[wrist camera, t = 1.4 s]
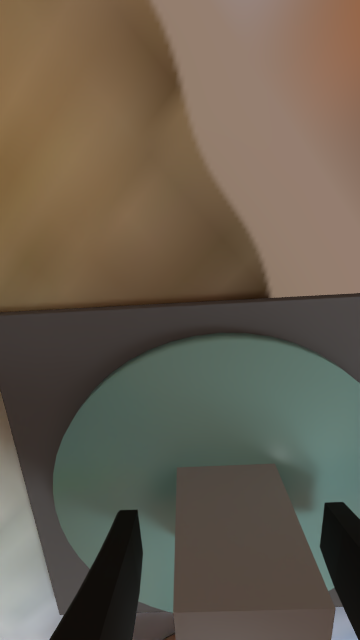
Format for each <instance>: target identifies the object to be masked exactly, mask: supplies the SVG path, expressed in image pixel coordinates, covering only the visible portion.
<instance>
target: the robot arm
mask: <svg viewBox="0 0 360 640" xmlns="http://www.w3.org/2000/svg"><path fill="white" fill-rule="evenodd" d="M320 549H321V552H322V555H323V558H324V561H325V564H326V566H327V569H328V572H329V574H330V577H331V580H332V582H333V585H334V588H335V590H336V592H337V594H338V596H339V599H340V601H341V603H342V605H343V607H344V610H345V612H346V614H347V616H348V618H349V620H350V623H351V625H352V627H353V629H354V631H355V633H356V635H357V637H358V640H360V519H359V518H358V517H357V516H356V515H355V514H354V512H353V511H352V510H351V509H350V508H349V507H348V506H347V505H346V504H345V503H344V502H326V503H325V504H324V513H323V522H322V531H321V539H320ZM142 560H143V548H142V540H141V532H140V525H139V517H138V509H137V510H120V511H119V512H118V513H117V515H116V517H115V519H114V522H113V524H112V526H111V528H110V530H109V532H108V535H107V537H106V539H105V541H104V543H103V545H102V547H101V549H100V551H99V553H98V555H97V557H96V559H95V561H94V563H93V564H92V566H91V568H90V570H89V572H88V574H87V576H86V578H85V579H84V581H83V583H82V585H81V587H80V589H79V590H78V592H77V594H76V596H75V597H74V599H73V601H72V603H71V604H70V606H69V608H68V609H67V611H66V613H65V615H64V616H63V618H62V620H61V621H60V623H59V625H58V626H57V628H56V630H55V631H54V633H53V635H52V636H51V638H50V640H132V637H133V631H134V625H135V619H136V612H137V606H138V600H139V594H140V584H141V572H142Z"/></svg>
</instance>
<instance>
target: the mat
mask: <svg viewBox="0 0 360 640" xmlns="http://www.w3.org/2000/svg"><path fill="white" fill-rule="evenodd" d="M215 333H249V334H256V335H263V336H271V337H274V338H278V339H282V340H285V341H289V342H293V343H295V344H298V345H300V346H303V347H305V348H307V349H310V350H312V351H315V352H316V353H318V354H320V355H322V356H323V357H325V358H327V359H328V360H330V361H332V362H333V363H335V364H336V365H337V366H339V367H340V368H341V369H343V370H344V371H345V372H346V373H348V374H349V375H350V376H351V377H353V378H354V379H355V380H356V381H357V382H359V383H360V293H357V294H340V295H339V294H338V295H319V296H302V297H301V296H300V297H284V298H283V297H282V298H263V299H244V300H225V301H206V302H188V303H169V304H150V305H131V306H113V307H94V308H75V309H56V310H37V311H19V312H0V390H1V394H2V398H3V401H4V405H5V409H6V413H7V416H8V420H9V424H10V428H11V432H12V435H13V439H14V443H15V447H16V451H17V454H18V458H19V462H20V466H21V470H22V473H23V477H24V481H25V485H26V488H27V492H28V496H29V500H30V504H31V507H32V511H33V515H34V519H35V523H36V526H37V530H38V534H39V538H40V541H41V545H42V549H43V553H44V557H45V560H46V564H47V568H48V572H49V576H50V579H51V583H52V587H53V591H54V595H55V598H56V602H57V606H58V610H59V613H60V615H65V613H66V611H67V609H68V608H69V606H70V604H71V603H72V601H73V599H74V597H75V596H76V594H77V592H78V590H79V589H80V587H81V585H82V583H83V581H84V579H85V578H86V576H87V574H88V572H89V570H90V569H89V567H88V566H87V565H86V564H85V563H84V562H83V561H82V560H81V559H80V558H79V556H78V555H77V553H76V552H75V551H74V549H73V548H72V546H71V545H70V543H69V542H68V540H67V538H66V536H65V534H64V532H63V530H62V528H61V525H60V522H59V519H58V516H57V513H56V510H55V503H54V496H53V472H54V466H55V461H56V455H57V453H58V450H59V447H60V444H61V441H62V439H63V436H64V434H65V433H66V431H67V429H68V427H69V425H70V424H71V422H72V420H73V418H74V417H75V415H76V414H77V412H78V410H79V409H80V407H81V406H82V404H83V403H84V402H85V400H86V399H87V398H88V397H89V395H90V394H91V393H92V391H93V390H94V389H95V388H96V387H97V386H98V385H99V384H100V383H101V382H102V381H103V380H104V379H105V378H106V377H108V376H109V375H110V374H111V373H112V372H114V371H115V370H117V369H118V368H119V367H121V366H122V365H123V364H125V363H126V362H128V361H129V360H131V359H133V358H135V357H137V356H139V355H141V354H142V353H144V352H146V351H148V350H151V349H153V348H156V347H158V346H161V345H164V344H166V343H169V342H172V341H176V340H180V339H184V338H188V337H192V336H197V335H206V334H215ZM328 592H329V594H330V597H331V599H332V601H333V604H334V606H335V607H343V605H342V603H341V601H340V599H339V596H338V594H337V592H336V590H335V588H333V589H331V590H329V591H328ZM144 612H168V611H164V610H161V609H157V608H154V607H151V606H149V605H146V604H144V603H141V602H139V601H138V606H137V612H136V613H144Z"/></svg>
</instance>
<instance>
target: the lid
mask: <svg viewBox="0 0 360 640" xmlns="http://www.w3.org/2000/svg"><path fill="white" fill-rule="evenodd" d="M53 496H54V503H55V510H56V513H57V516H58V519H59V522H60V525H61V528H62V530H63V532H64V534H65V536H66V538H67V540H68V542H69V543H70V545H71V546H72V548H73V549H74V551H75V552H76V553H77V555H78V556H79V558H80V559H81V560H82V561H83V562H84V563H85V564H86V565H87V566H88V567H89V569H90V568H91V566H92V564H93V563H94V561H95V559H96V557H97V555H98V553H99V551H100V549H101V547H102V545H103V543H104V541H105V539H106V537H107V535H108V532H109V530H110V528H111V526H112V524H113V522H114V519H115V517H116V515H117V513H118V512H119V511H120V510H137V509H138V517H139V525H140V532H141V540H142V548H143V560H142V572H141V584H140V594H139V600H138V601H139V602H141V603H144V604H146V605H149V606H151V607H154V608H157V609H161V610H164V611H168V612H171V613H173V617H174V628H175V638H176V640H331V636H332V629H333V622H334V615H335V606H334V604H333V601H332V599H331V597H330V594H329V592H328V591H329V590H331V589H333V588H334V585H333V582H332V580H331V577H330V574H329V572H328V569H327V566H326V564H325V561H324V558H323V555H322V552H321V549H320V539H321V531H322V522H323V513H324V504H325V503H326V502H344V503H345V504H346V505H347V506H348V507H349V508H350V509H351V510H352V511H353V512H354V514H355V515H356V516H357V517H358V518H359V519H360V383H359V382H357V381H356V380H355V379H354V378H353V377H351V376H350V375H349V374H348V373H346V372H345V371H344V370H343V369H341V368H340V367H339V366H337V365H336V364H335V363H333V362H332V361H330V360H328V359H327V358H325V357H323V356H322V355H320V354H318V353H316V352H315V351H312V350H310V349H307V348H305V347H303V346H300V345H298V344H295V343H293V342H289V341H285V340H282V339H278V338H274V337H271V336H263V335H256V334H249V333H215V334H206V335H197V336H192V337H188V338H184V339H180V340H176V341H172V342H169V343H166V344H164V345H161V346H158V347H156V348H153V349H151V350H148V351H146V352H144V353H142V354H141V355H139V356H137V357H135V358H133V359H131V360H129V361H128V362H126V363H125V364H123V365H122V366H121V367H119V368H118V369H117V370H115V371H114V372H112V373H111V374H110V375H109V376H108V377H106V378H105V379H104V380H103V381H102V382H101V383H100V384H99V385H98V386H97V387H96V388H95V389H94V390H93V391H92V393H91V394H90V395H89V397H88V398H87V399H86V400H85V402H84V403H83V404H82V406H81V407H80V409H79V410H78V412H77V414H76V415H75V417H74V418H73V420H72V422H71V424H70V425H69V427H68V429H67V431H66V433H65V434H64V436H63V439H62V441H61V444H60V447H59V450H58V453H57V455H56V461H55V466H54V472H53Z"/></svg>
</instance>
